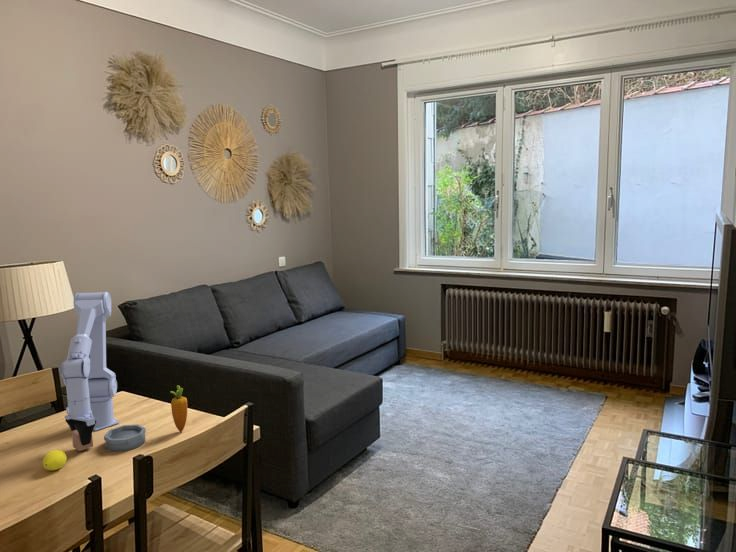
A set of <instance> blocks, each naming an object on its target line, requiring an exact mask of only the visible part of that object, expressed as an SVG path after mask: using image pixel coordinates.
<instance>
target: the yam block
mask: <svg viewBox="0 0 736 552" xmlns="http://www.w3.org/2000/svg"><path fill="white" fill-rule="evenodd" d="M71 437H72V448H74V449H75V450H76V451H78V452H81V451H84V450H86V449H89V448H92V447H94V443H93V442H94V441H93V435H92V436H91V442H90V444H87V445H84V446H83V445H82V444H81V441H80V436H79V433H78V431H77V430H74V431H71Z"/></svg>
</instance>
